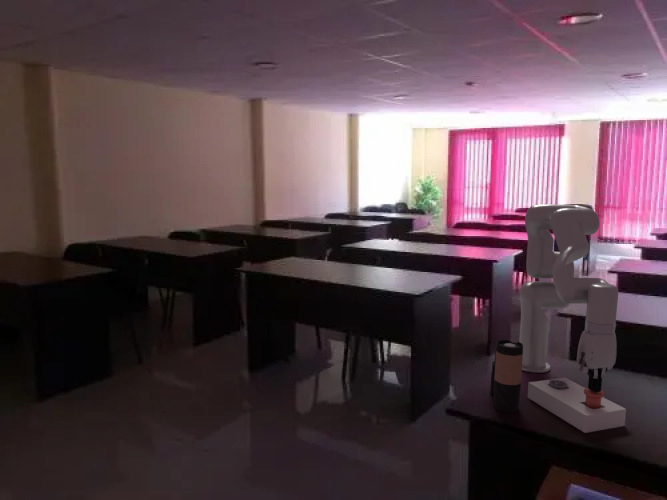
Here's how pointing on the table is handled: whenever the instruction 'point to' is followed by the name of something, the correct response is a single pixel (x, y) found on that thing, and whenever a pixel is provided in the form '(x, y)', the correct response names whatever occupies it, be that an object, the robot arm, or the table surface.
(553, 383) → the metal button
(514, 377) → the travel mug
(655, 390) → the table surface
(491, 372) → the two-way radio
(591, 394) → the red button
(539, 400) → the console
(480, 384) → the table surface
